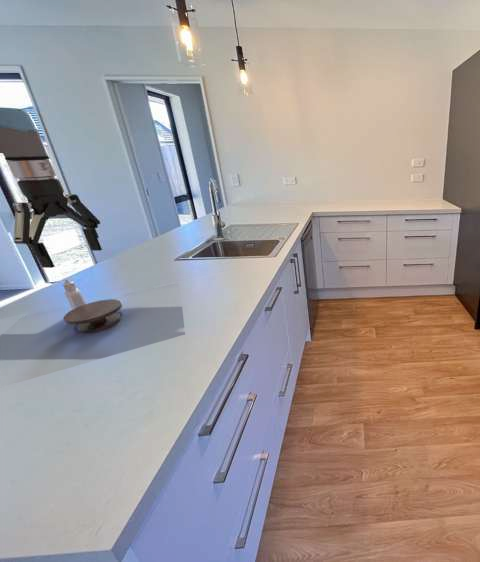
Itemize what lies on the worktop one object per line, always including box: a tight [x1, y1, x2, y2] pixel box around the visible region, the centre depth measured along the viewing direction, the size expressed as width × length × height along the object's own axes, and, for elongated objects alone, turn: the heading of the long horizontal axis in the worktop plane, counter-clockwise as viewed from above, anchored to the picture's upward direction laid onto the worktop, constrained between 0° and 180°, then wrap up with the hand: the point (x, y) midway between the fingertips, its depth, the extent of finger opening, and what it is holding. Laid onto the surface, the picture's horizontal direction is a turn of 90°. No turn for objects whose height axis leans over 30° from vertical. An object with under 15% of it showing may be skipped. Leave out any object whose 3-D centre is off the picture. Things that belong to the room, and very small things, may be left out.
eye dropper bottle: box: [62, 278, 87, 310], centre depth 95 cm, size 4×6×12 cm
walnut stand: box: [63, 298, 123, 334], centre depth 90 cm, size 13×13×5 cm
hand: (74, 258), depth 84 cm, fingers open, 13 cm apart
